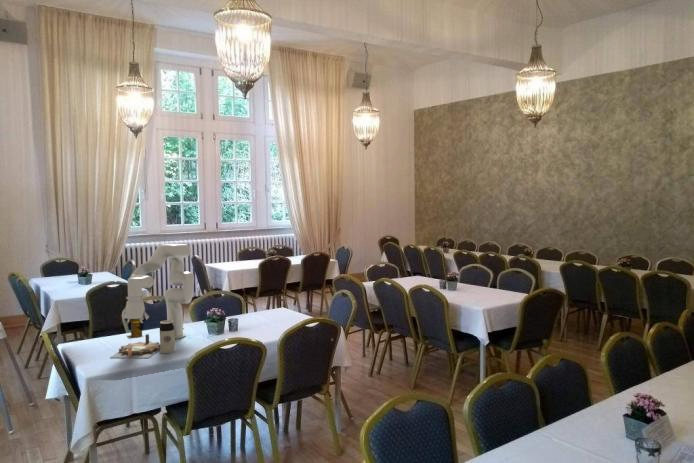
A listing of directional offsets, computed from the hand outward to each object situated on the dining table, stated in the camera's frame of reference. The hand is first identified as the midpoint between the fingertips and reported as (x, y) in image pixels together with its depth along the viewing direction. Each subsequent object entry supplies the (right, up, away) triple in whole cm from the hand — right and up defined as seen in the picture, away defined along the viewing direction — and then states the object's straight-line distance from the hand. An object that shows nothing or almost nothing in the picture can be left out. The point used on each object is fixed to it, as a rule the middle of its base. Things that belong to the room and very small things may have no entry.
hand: (136, 329), depth 315 cm
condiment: (-1, -5, +1) cm, 5 cm away
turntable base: (0, -14, +4) cm, 14 cm away
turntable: (0, -14, +6) cm, 15 cm away
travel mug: (+17, -14, +3) cm, 22 cm away
